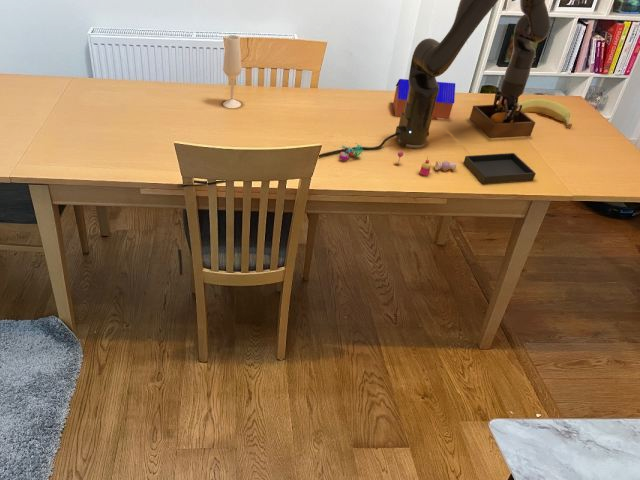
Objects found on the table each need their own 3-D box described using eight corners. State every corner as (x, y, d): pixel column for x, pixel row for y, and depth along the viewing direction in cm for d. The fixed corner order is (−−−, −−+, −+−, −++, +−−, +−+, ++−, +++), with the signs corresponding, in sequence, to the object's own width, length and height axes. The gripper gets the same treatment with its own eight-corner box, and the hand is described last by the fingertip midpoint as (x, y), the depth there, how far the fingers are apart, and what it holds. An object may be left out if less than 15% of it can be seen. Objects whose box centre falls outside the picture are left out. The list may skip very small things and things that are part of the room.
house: (392, 103, 224) (398, 72, 216) (444, 107, 223) (452, 77, 215) (394, 116, 215) (400, 85, 207) (449, 120, 213) (457, 89, 206)
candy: (449, 164, 189) (454, 147, 185) (456, 176, 183) (462, 159, 179) (394, 162, 188) (398, 145, 184) (399, 175, 182) (403, 158, 178)
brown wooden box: (489, 140, 203) (494, 124, 199) (468, 120, 214) (473, 105, 211) (529, 137, 206) (535, 122, 202) (507, 118, 217) (512, 103, 213)
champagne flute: (240, 100, 220) (242, 34, 204) (241, 108, 215) (243, 40, 199) (222, 100, 219) (223, 34, 204) (223, 107, 214) (223, 40, 199)
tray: (482, 184, 180) (485, 176, 178) (463, 163, 190) (465, 155, 188) (532, 180, 183) (535, 173, 181) (511, 160, 193) (513, 152, 191)
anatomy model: (333, 140, 188) (344, 147, 183) (354, 137, 191) (366, 143, 186) (332, 155, 191) (343, 163, 186) (353, 152, 194) (364, 159, 189)
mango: (492, 130, 207) (497, 116, 203) (485, 124, 211) (489, 110, 207) (513, 129, 208) (518, 115, 205) (506, 123, 212) (510, 109, 209)
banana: (538, 87, 222) (584, 113, 211) (534, 99, 226) (578, 125, 216) (513, 103, 218) (558, 130, 208) (509, 115, 222) (553, 142, 212)
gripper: (495, 71, 203) (480, 117, 214) (516, 87, 192) (500, 135, 203) (514, 70, 204) (499, 116, 215) (537, 86, 193) (519, 134, 204)
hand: (500, 125), depth 209 cm, fingers closed on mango, 5 cm apart
